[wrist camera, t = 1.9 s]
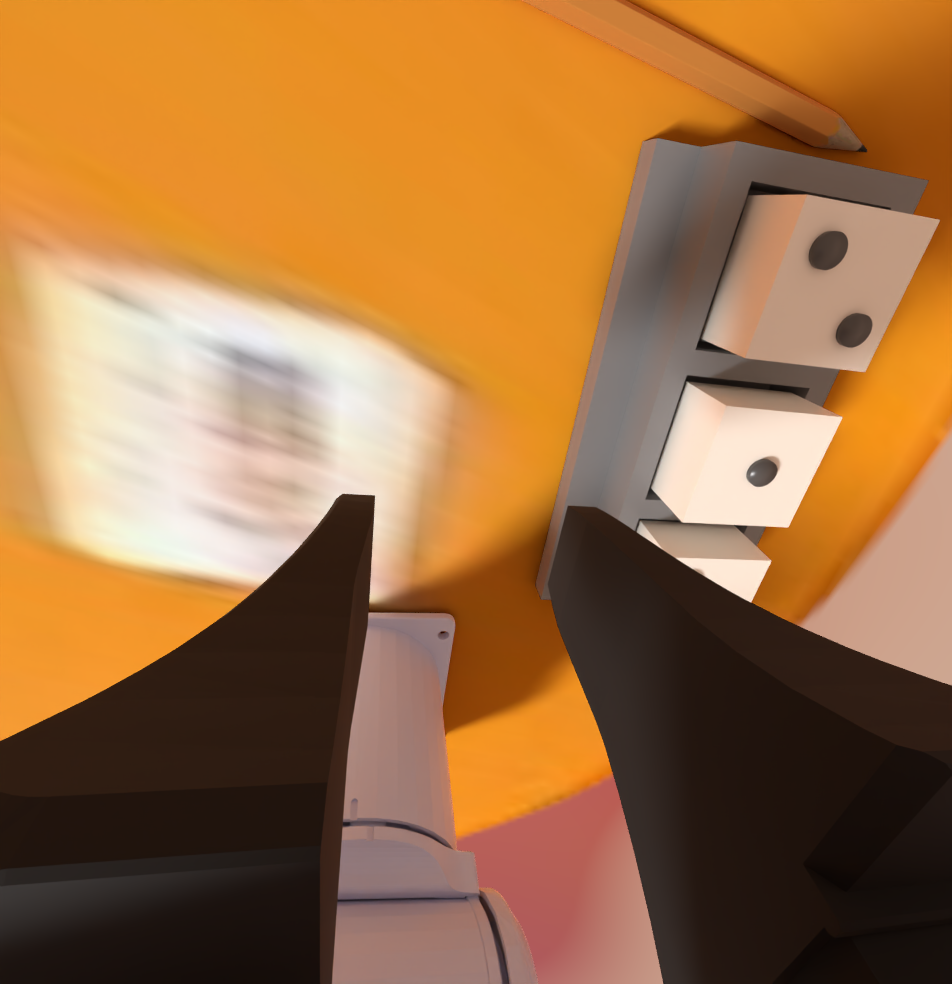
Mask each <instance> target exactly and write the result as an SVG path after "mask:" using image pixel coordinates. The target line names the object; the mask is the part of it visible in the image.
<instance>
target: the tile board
mask: <svg viewBox="0 0 952 984" xmlns="http://www.w3.org/2000/svg"><path fill="white" fill-rule="evenodd" d="M928 181H929V180H924V179H919V178H914V177H909V176H905V175H900V174H895V173H890V172H885V171H880V170H876V169H871V168H866V167H861V166H856V165H851V164H847V163H842V162H837V161H832V160H827V159H823V158H818V157H813V156H808V155H803V154H798V153H794V152H789V151H784V150H779V149H774V148H769V147H765V146H760V145H755V144H750V143H745V142H740V141H732V142H726V143H721V144H715V145H709V146H703V147H699V146H694V145H689V144H684V143H679V142H674V141H669V140H665V139H660V138H656V139H651V140H647V141H643V143H642V147H641V151H640V155H639V159H638V163H637V168H636V172H635V176H634V180H633V184H632V188H631V192H630V196H629V201H628V205H627V209H626V213H625V217H624V221H623V225H622V229H621V234H620V238H619V242H618V246H617V250H616V254H615V258H614V262H613V267H612V271H611V275H610V279H609V283H608V287H607V291H606V295H605V300H604V304H603V308H602V312H601V316H600V320H599V324H598V328H597V333H596V337H595V341H594V345H593V349H592V353H591V357H590V361H589V366H588V370H587V374H586V378H585V382H584V386H583V390H582V395H581V399H580V403H579V407H578V411H577V415H576V419H575V423H574V428H573V432H572V436H571V440H570V444H569V448H568V452H567V456H566V461H565V465H564V469H563V473H562V477H561V481H560V485H559V489H558V494H557V498H556V502H555V506H554V510H553V514H552V518H551V522H550V527H549V531H548V535H547V539H546V543H545V547H544V551H543V555H542V560H541V564H540V568H539V572H538V576H537V580H536V584H535V585H536V588H537V591H538V593H539V596H540V599H541V600H551V597H550V593H549V588H548V581H549V577H550V573H551V569H552V565H553V561H554V557H555V553H556V550H557V546H558V542H559V538H560V534H561V530H562V526H563V522H564V518H565V514H566V510H567V507H568V506H587V507H597V508H599V509H601V510H603V511H604V512H606V513H608V514H610V515H611V516H613V517H614V518H616V519H618V520H619V521H621V522H622V523H624V524H625V525H627V526H628V527H630V528H631V529H633V530H634V531H636V529H637V526H638V523H639V520H650V521H671V522H681V520H680V519H679V518H678V517H677V516H676V515H675V514H674V513H673V512H672V511H671V509H670V508H669V507H668V506H667V505H666V504H665V503H664V502H663V501H662V500H661V499H660V497H659V496H658V495H657V494H656V493H655V492H654V491H653V490H652V489H651V485H652V482H653V479H654V476H655V473H656V470H657V467H658V464H659V461H660V458H661V455H662V452H663V449H664V446H665V443H666V440H667V437H668V434H669V431H670V428H671V425H672V422H673V419H674V416H675V413H676V410H677V407H678V404H679V401H680V398H681V395H682V392H683V389H684V386H685V383H686V381H688V382H697V383H707V384H716V385H726V386H735V387H745V388H755V389H764V390H774V391H783V392H791V393H793V394H795V395H797V396H799V397H802V398H804V399H806V400H808V401H810V402H812V403H814V404H816V405H818V406H820V407H822V406H823V404H824V402H825V400H826V398H827V396H828V394H829V392H830V389H831V387H832V385H833V383H834V381H835V379H836V377H837V375H838V372H839V370H840V369H833V368H825V367H816V366H808V365H799V364H790V363H782V362H773V361H765V360H756V359H748V358H743V357H741V356H739V355H737V354H734V353H732V352H730V351H728V350H725V349H723V348H721V347H718V346H716V345H714V344H712V343H709V342H707V341H705V340H703V339H701V336H702V333H703V330H704V327H705V324H706V321H707V318H708V315H709V312H710V309H711V306H712V303H713V300H714V297H715V294H716V291H717V288H718V285H719V282H720V279H721V276H722V273H723V270H724V267H725V264H726V261H727V258H728V255H729V252H730V249H731V246H732V243H733V240H734V237H735V234H736V231H737V228H738V225H739V222H740V219H741V216H742V213H743V210H744V207H745V204H746V201H747V198H748V195H812V196H818V197H823V198H828V199H833V200H839V201H844V202H849V203H854V204H860V205H865V206H870V207H875V208H881V209H886V210H891V211H896V212H902V213H907V214H912V215H913V213H914V211H915V209H916V207H917V205H918V203H919V200H920V198H921V196H922V194H923V192H924V190H925V188H926V186H927V183H928ZM734 526H735V527H736V528H737V529H738V530H740V531H741V532H742V533H743V534H744V535H745V536H746V537H747V538H748V539H749V540H750V541H751V542H752V543H753V544H754V545H755V546H757V544H758V542H759V540H760V538H761V536H762V534H763V532H764V530H765V527H766V526H748V525H734Z"/></svg>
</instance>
